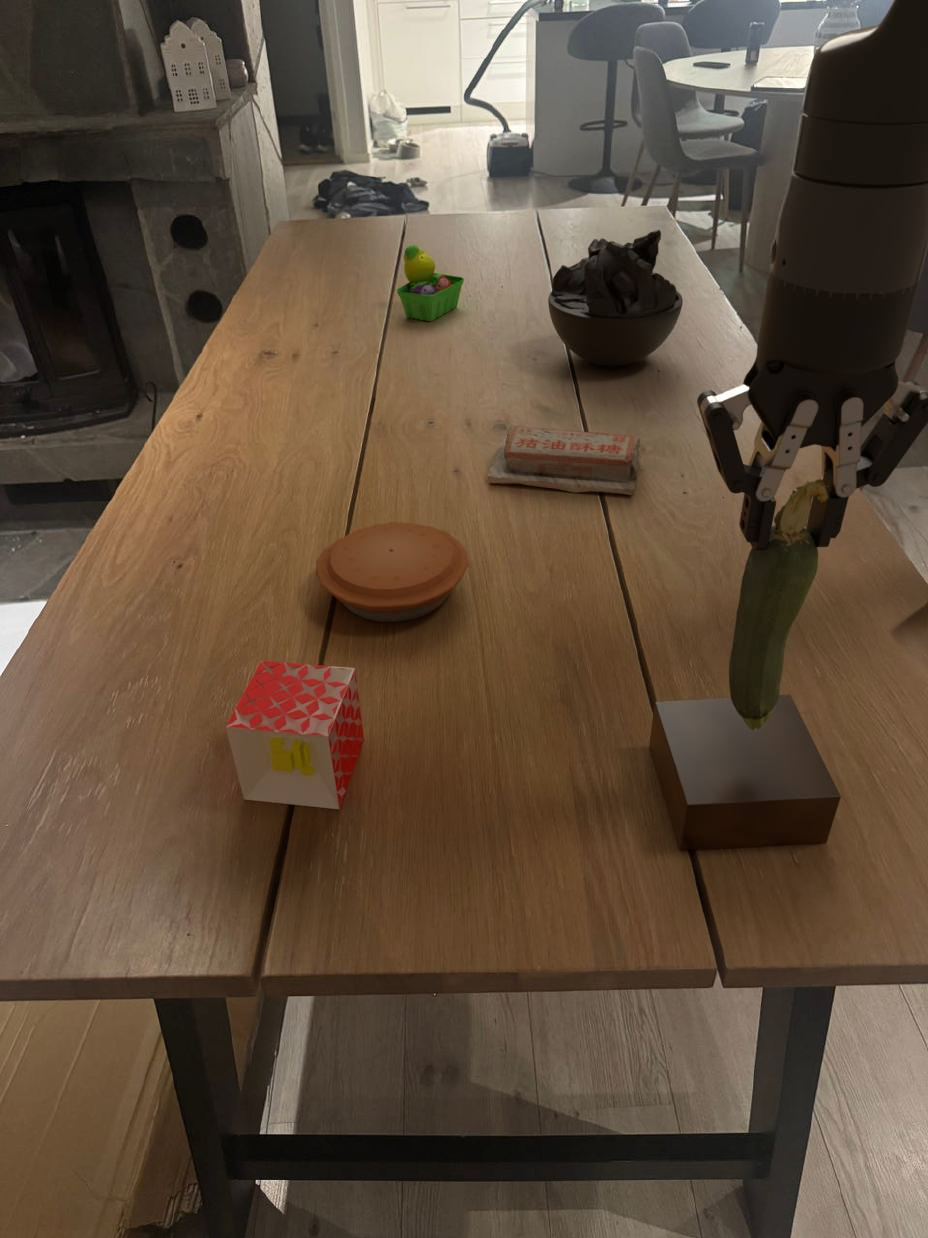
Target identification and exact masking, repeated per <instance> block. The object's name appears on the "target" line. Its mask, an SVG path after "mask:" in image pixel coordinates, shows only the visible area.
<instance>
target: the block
mask: <svg viewBox="0 0 928 1238" xmlns="http://www.w3.org/2000/svg"><path fill="white" fill-rule="evenodd" d="M650 730H651V731H650V736H649V745H648V746H649V750H650V754H651V757H652V760H653V764H654V768H655V771H656V774H657V778H658V781H659V784H660V789H661V791H662V795H663V798H664V801H665V805H666V808H667V812H668V815H669V819H670V822H671V825H672V829H673V832H674V836H675V839H676V842H677V846H678V850H679V851H680V852H681V851H684V852H685V851H699V850H700V851H701V850H718V849H734V848H735V849H737V848H755V847H756V848H757V847H770V846H790V845H808V844H827V842H828V839H829V836H830V833H831V830H832V827H833V823H834V820H835V817H836V814H837V811H838V808H839V806H840V805H839V804H840V802H841V798H842V796H841V794H840V792H839V790H838V787H837V786H836V783H835V782H834V779H833V778H832V776H831V773H830V772H829V770H828V768H827V765H826V764H825V762H824V759H823V758H822V755H821V754H820V752H819V750H818V748H817V746H816V743H815V742H814V739H813V738H812V735H811V734H810V731H809V730H808V727H807V726H806V723H805V721H804V720H803V717H802V715H801V713H800V711H799V709H798V708H797V705H796V704H795V701H794V699H793V697H792V696H791V694H779V698H778V701H777V704H776V705H775V706H774V708H773V709H772V713H771V716H770V717H768V719H767V721H766V722H764V724H763V726H761V727H760V728H759V729H757V728H755V729H754V730H751V729H750V728H749V727H748V726H747V724H746V723H745V722H744V720H743V717H742V716H740V715H739V713H738V712H737V710H736V709H735V707H734V705H733V703H732V700H731V697H720V698H717V697H716V698H698V699H682V700H679V699H677V700H662V701H661V700H660V701H654V706H653V713H652V721H651V728H650Z"/></svg>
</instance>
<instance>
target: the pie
mask: <svg viewBox="0 0 928 1238" xmlns="http://www.w3.org/2000/svg"><path fill="white" fill-rule="evenodd" d="M468 556H469V555H468V552H467V550H466V549H465V547H464V546H463V544H462V543H461V542H460V541H459V540H458V539H457V538H456V537H454V536H453V535H452V534H450V533H449V532H447V531H445V530H442V529H440V528H437V527H434V526H431V525H425V524H418V523H412V522H400V521H399V522H397V521H392V522H386V523H379V524H377V523H376V524H373V525H370V526H366V527H363V528H359V529H358V530H355V531H353V532H350V533H348V534H347V535H345V536H343V537H341V538H338V539H337V540H335V541H334V542H332V543H331V544H329V545H327V546H326V547H325V548H324V549H323V550H322V552H321V553H320V555H319V556H318V557H317V559H316V563H315V564H316V565H315V575H316V576H317V579H318V582H319V585H320V586H321V587H322V588H323V589H324V590H326V592H328V593H329V594H330V595H332V596H333V597H334V598H335V599H337V600H338V601H339V602H340V603H341V604H342V605H343V606H344V607H345V608H346V609H348V610H349V611H350V612H351V613H352V614H355V615H356V616H358V617H360V618H362V619H365V620H368V621H369V620H370V621H375V622H379V623H399V622H407V621H412V620H415V619H418V618H421V617H424V616H427V615H428V614H430V613H431V612H434V611H435V610H437V609H438V608H439V607H440V606H441V605H443V603H444V602H445V601H446V600H447V598H448V597H449V596H450V594H451V593H452V592H453V590H454V588H455V587H456V586H457V585H458V584H459V583H460V581H461V580H462V579H463V577H464V575H465V573H466V571H467V570H468V567H469V565H470V563H469V557H468Z"/></svg>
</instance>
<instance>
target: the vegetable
mask: <svg viewBox="0 0 928 1238" xmlns="http://www.w3.org/2000/svg"><path fill="white" fill-rule="evenodd" d="M825 487H829V486H825V484H824V482H823V478H818V479H816V480H814V481H813V480H812V481H809V480H807V482H806V483H804V484H802V485H800V486H796V487H795V489H794V490H792V492H791V494H790V495H789V497H788V500H787V502H786V503H785V504H784V505H783V506H781V508H780V510H778V512H777V513H776V514H775V515H774V517H773V522H774V525H772V527H771V533H770V538H769V543H768V547H767V549H766V550H754V549H753V548H752V547H751V549H750V551H749V553H748V556H747V559H746V562H745V566H744V570H743V574H742V578H741V585H740V590H739V601H738V605H737V610H736V617H735V626H734V631H733V640H732V645H731V651H730V656H729V664H728V683H729V695H730V698H731V700H732V703H733V705H734V707H735V709H736V710H737V712H738V713H739V715H740V716H742V717H743V720H744V722H745V723H746V724H747V726H748V727H749V728H750V729H751V730H754V729H755V728H757V729H759V728H760V727H761V726H763V724H764V722H766V721H767V719H768V717H770V716H771V713H772V709H773V708H774V706H775V705H776V704H777V701H778V698H779V695H780V690H781V682H782V675H783V668H784V661H785V648H786V644H787V640H788V637H789V633H790V630H791V628H792V625H793V623H794V622H795V620H796V618H797V616H798V615H799V613H800V611H801V610H802V607H803V605H804V603H805V601H806V598H807V596H808V594H809V591H810V590H811V587H812V585H813V582H814V580H815V578H816V576H817V572H818V566H819V550H818V547H816V545H815V542H814V540H813V538H812V536H811V535H810V533H809V532H808V530H807V529H806V528H805V527H808V523H807V522H808V518H809V514H810V509H811V504H812V500H813V496H816V495H818V494H819V496H818V499H819V500H820V501H821V502H825V500H827V498H828V495H827V491H826V488H825Z"/></svg>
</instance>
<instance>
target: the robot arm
mask: <svg viewBox="0 0 928 1238" xmlns="http://www.w3.org/2000/svg"><path fill="white" fill-rule="evenodd" d="M800 107H801V108H800V109H801V110H800V114H799V120H798V125H797V126H798V127H797V132H796V138H795V144H794V151H793V156H792V161H791V169H790V172H789V178H788V182H787V185H786V190H785V191H784V196H783V199H782V202H781V206H780V208H779V213H778V216H777V217H778V218H777V223H776V228H775V233H774V238H773V240H772V242H771V246H770V252H769V259H770V264H769V269H768V278H767V284H766V289H765V296H764V301H763V307H762V313H761V320H760V326H759V332H758V338H757V348H756V356H755V359H754V362H753V364H752V366H751V368H750V369H749V370H748V371H747V373H746V374H745V376H744V378H743V382H742V384H741V385H738V386H736V387H733V388H731V389H729V390H725V391H724V392H721V393H719V394H717V393H716V392H715V391H713V390H711V389H709V390H705V391H703V392H701V393H700V394H699V395H698V397H697V399H696V404H697V408H698V411H699V413H700V417H701V420H702V423H703V426H704V430H705V433H706V436H707V439H708V443H709V446H710V450H711V451H712V455H713V459H714V462H715V465H716V468H717V471H718V474H719V475H720V477H721V478H722V480H723V482H724V484H725V485H726V487H727V489H728V490H729V492H730V493H732V494H741V493H742V494H743V493H744V494H743V498H742V499H743V500H742V505H741V512H740V518H739V521H738V522H739V523H738V525H739V528H740V531H741V533H742V535H743V537H744V539H745V541H746V542H747V543H749V544H750V546H751V549H752V548H753V549H754V550H766V549H767V547H768V543H769V538H770V533H771V527H772V526H773V522H774V518H775V511H776V507H777V502H778V501H777V500H776V498H775V496H776V495H777V492H778V489H779V487H780V485H781V482H782V479H783V478H784V475H785V473H786V471H787V470H790V469H791V468H792V467H793V465H794V463H795V460H796V457H797V455H798V453H799V451H800V449H804V448H807V447H811V446H820V449H821V475H822V480H823V482H824V484H825V486H829V487H825V488H826V491H827V495H828V498H827V500H825V502H821V501H820V500H819V499H818V496H819V494H818V495H816V496H813V497H812V501H811V506H810V514H809V517H808V520H807V523H808V527H806V526H805V527H806V528H805V529H807V530H808V532H809V533H810V535H811V536H812V538H813V540H814V542H815V545H816V547H817V548H828V547H829V546H830V544H831V539H836V538H837V537H838V535H839V534H840V532H841V529H842V526H843V521H844V518H845V514H846V509H847V506H848V503H849V502H848V501H849V498H850V496H852V495H853V494H854V493H855V492H856V490H857V489H859V488H861V487H865V486H867V485H869V486H870V487H872V488H877V487H880V486H882V485H884V484H886V482H887V480H888V479H889V477H890V476H891V475H892V474H893V472H894V470H895V469H896V468H897V466H898V465H899V463H900V462H901V461H902V459H904V456H905V455H906V454H907V452H908V451H909V450H910V448H911V447H912V445H913V444H914V442H915V441H916V440H917V438H918V437H919V435H920V434H921V433H922V431H923V429H924V428H925V427H926V425H927V424H928V390H927V389H926V388H925V387H924V386H922V385H921V384H920V383H918V382H917V381H915V380H910V381H907V382H905V381H902V380H899V375H898V372H897V369H896V360H897V358H899V356H900V354H901V352H902V349H903V346H904V341H905V338H906V335H907V330H908V326H909V322H910V318H911V315H912V311H913V308H914V307H913V306H914V303H915V298H916V295H917V292H918V287H919V283H920V280H921V276H922V272H923V268H924V264H925V261H926V257H927V253H928V0H893V1H892V4H891V6H890V7H889V9H888V11H887V13H886V14H885V15H884V17H883V18H882V20H881V21H880V22H879V23H878V24H877V25H872V26H867V27H861V28H858V29H852V30H848V31H846V32H843V33H840V34H837V35H834V36H833V37H830V38H828V40H827V41H825V42H824V43H823V44H821V46H820V47H819V48H818V49H817V50H816V52H815V54H814V55H813V58H812V60H811V62H810V66H809V70H808V74H807V78H806V81H805V87H804V91H803V96H802V102H801V106H800ZM749 406H751V407H752V409H753V410H754V412H755V413H756V414H757V416H758V418H759V420H760V424H759V427H758V429H757V432H756V434H755V437H754V442H753V444H754V448H753V452H752V454H751V457H750V459H749V462H748V464H745V463H744V461H743V458H742V455H741V452H740V448H739V445H738V441H737V437H736V435H735V431H737V430H740V428H741V426H742V424H743V422H744V412H745V411H746V409H747V408H748V407H749ZM880 409H882V411H883V413H882V414H881V416H880V418H879V419H878V420H877V422H876V423H875V425H874V426H873V428H872V430H870V432H869V434H868V435H867V437H866V438H865V439H864V441H863V443H862V442H861V441H862V428H863V426H865V425H866V424H867V422H868V421H869V420H870V419H871V418H873V416H874V415H875V414H876V413H877V412H878V411H879V410H880Z"/></svg>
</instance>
